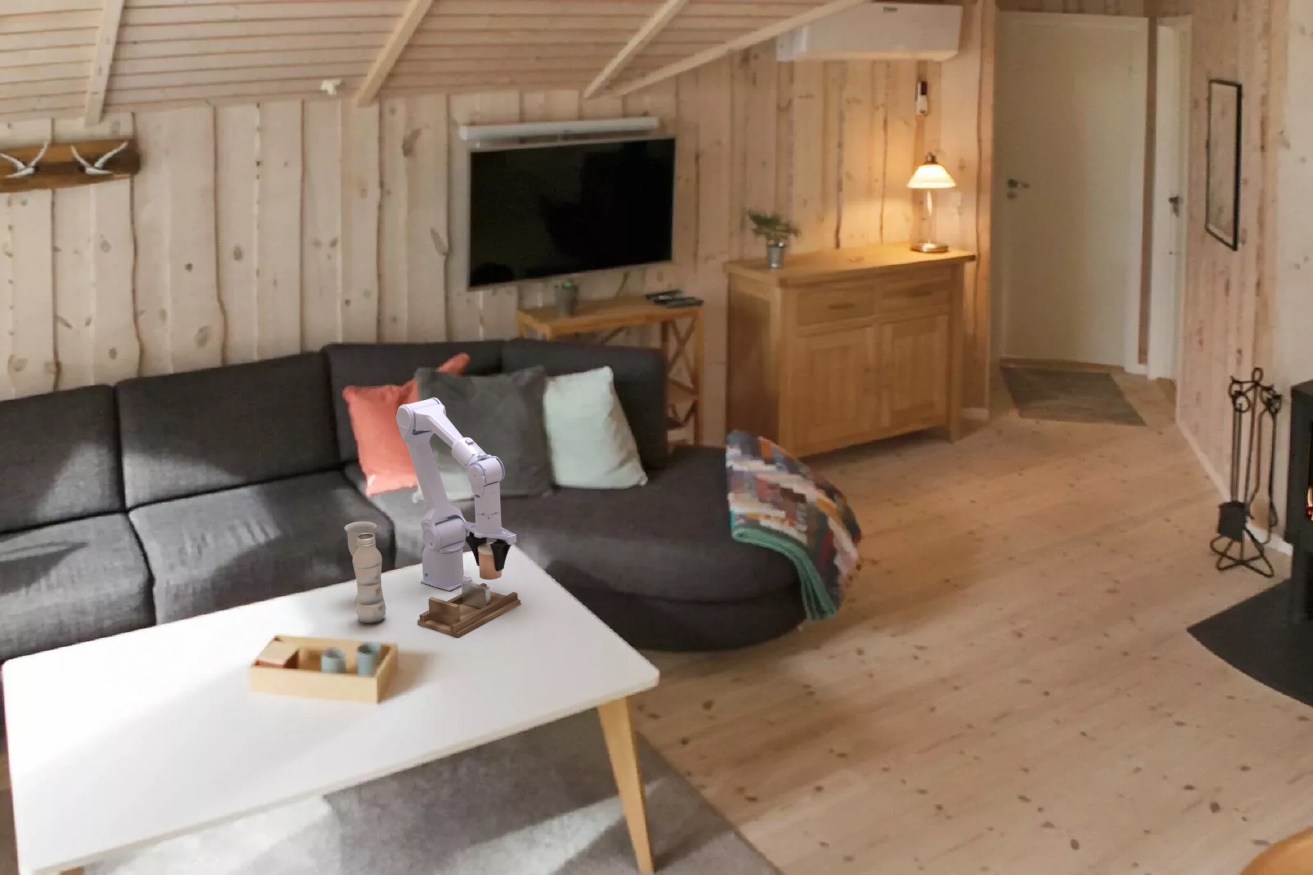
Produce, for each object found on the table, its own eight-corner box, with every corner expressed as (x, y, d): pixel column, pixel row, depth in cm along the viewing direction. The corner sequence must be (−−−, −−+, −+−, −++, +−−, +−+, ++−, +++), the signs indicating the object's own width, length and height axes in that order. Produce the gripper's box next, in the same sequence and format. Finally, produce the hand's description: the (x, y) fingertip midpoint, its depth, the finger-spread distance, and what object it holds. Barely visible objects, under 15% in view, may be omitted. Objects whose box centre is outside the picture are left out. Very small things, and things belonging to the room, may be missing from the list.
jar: (474, 576, 299) (473, 548, 297) (489, 569, 304) (488, 540, 302) (491, 581, 297) (490, 552, 295) (506, 574, 301) (505, 545, 299)
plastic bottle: (390, 614, 296) (384, 531, 290) (381, 627, 290) (375, 542, 284) (362, 613, 297) (356, 530, 291) (352, 626, 290) (346, 541, 284)
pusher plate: (462, 603, 299) (461, 582, 297) (466, 600, 300) (465, 580, 299) (486, 610, 295) (485, 589, 294) (490, 608, 296) (489, 587, 295)
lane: (417, 624, 291) (415, 599, 289) (480, 592, 308) (479, 568, 306) (458, 637, 285) (456, 612, 283) (520, 603, 301) (519, 579, 300)
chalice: (344, 604, 302) (338, 530, 296) (359, 592, 308) (353, 520, 302) (373, 607, 300) (367, 533, 294) (387, 596, 306) (382, 523, 300)
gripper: (451, 509, 296) (454, 565, 300) (501, 522, 288) (503, 580, 293) (472, 500, 302) (475, 556, 306) (521, 513, 294) (523, 569, 298)
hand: (490, 567), depth 300 cm, fingers closed on jar, 5 cm apart
